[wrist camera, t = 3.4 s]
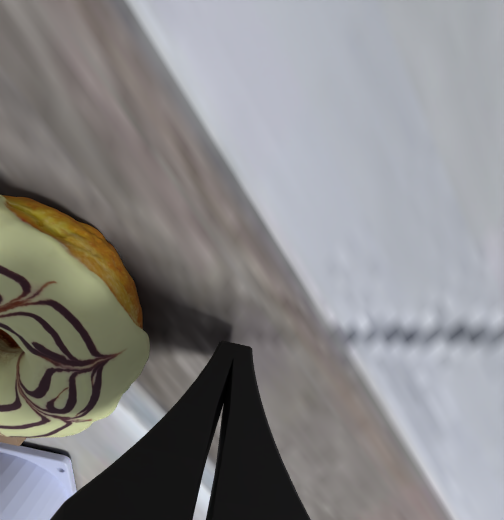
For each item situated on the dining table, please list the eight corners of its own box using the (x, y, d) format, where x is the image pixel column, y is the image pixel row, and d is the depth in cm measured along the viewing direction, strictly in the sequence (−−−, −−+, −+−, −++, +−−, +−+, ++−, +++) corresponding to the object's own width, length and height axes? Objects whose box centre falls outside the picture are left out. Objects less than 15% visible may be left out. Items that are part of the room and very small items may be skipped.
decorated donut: (206, 324, 12) (179, 396, 9) (74, 405, 15) (16, 481, 12) (12, 125, 9) (-147, 114, 6) (-99, 279, 12) (-242, 331, 9)
